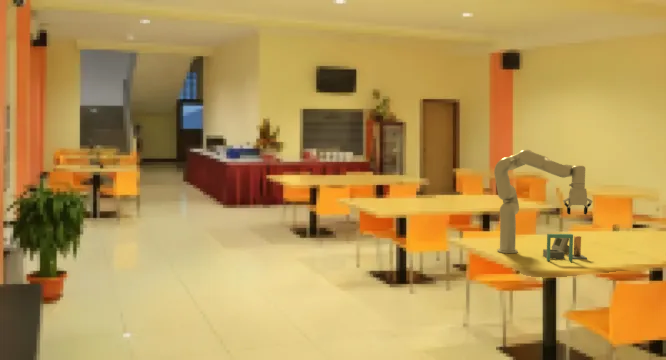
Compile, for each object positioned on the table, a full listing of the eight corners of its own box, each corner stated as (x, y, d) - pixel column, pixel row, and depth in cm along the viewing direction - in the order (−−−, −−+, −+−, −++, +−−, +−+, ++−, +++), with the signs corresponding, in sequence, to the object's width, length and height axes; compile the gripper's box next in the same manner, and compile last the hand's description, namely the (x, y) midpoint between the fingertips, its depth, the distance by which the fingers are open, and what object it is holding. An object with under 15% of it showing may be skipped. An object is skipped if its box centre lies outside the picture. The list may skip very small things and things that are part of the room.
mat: (567, 256, 424) (567, 254, 424) (581, 256, 424) (581, 254, 424) (571, 259, 414) (572, 257, 414) (587, 259, 414) (587, 257, 414)
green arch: (546, 260, 409) (547, 233, 408) (570, 260, 409) (571, 233, 407) (547, 261, 406) (548, 234, 405) (572, 261, 406) (573, 234, 404)
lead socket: (543, 255, 425) (543, 249, 425) (559, 255, 425) (559, 249, 424) (547, 258, 415) (547, 252, 415) (564, 258, 415) (564, 252, 414)
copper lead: (572, 255, 421) (573, 236, 420) (579, 255, 421) (579, 236, 420) (574, 256, 417) (575, 237, 416) (581, 256, 417) (582, 237, 416)
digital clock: (551, 249, 447) (551, 233, 447) (565, 250, 446) (565, 233, 445) (555, 254, 431) (556, 237, 430) (570, 254, 430) (571, 237, 429)
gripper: (565, 186, 413) (564, 214, 414) (594, 186, 412) (593, 215, 414) (561, 185, 421) (560, 213, 422) (590, 185, 420) (589, 213, 421)
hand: (577, 214), depth 418 cm, fingers open, 9 cm apart
